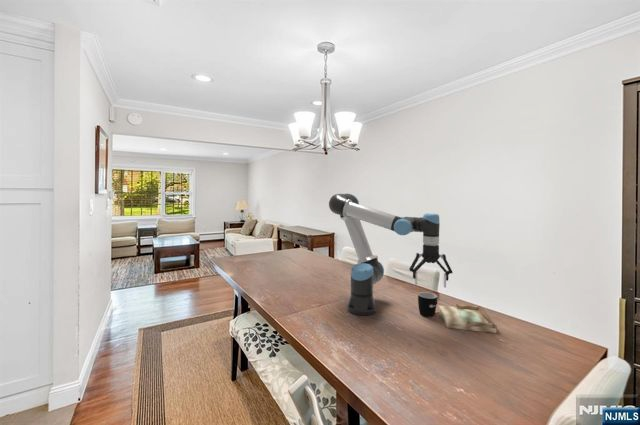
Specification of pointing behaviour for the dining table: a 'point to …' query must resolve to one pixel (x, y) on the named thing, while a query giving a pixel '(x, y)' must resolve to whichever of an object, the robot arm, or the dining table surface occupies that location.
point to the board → (467, 318)
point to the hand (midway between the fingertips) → (430, 285)
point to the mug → (427, 303)
